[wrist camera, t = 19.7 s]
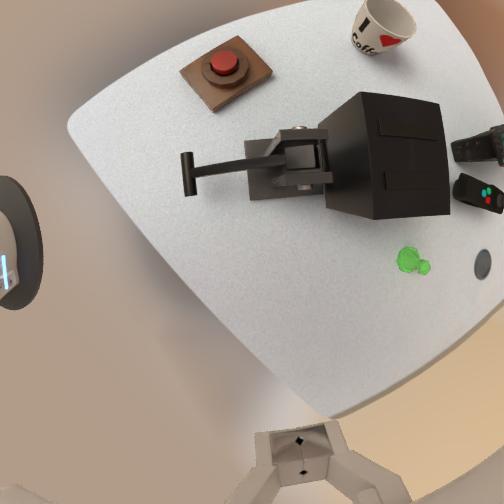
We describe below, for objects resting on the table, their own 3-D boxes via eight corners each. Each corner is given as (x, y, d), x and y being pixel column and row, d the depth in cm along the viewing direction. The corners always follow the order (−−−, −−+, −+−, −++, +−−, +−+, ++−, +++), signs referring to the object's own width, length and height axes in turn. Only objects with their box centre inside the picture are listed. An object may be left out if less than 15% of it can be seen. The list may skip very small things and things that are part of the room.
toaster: (325, 208, 38) (375, 220, 23) (317, 124, 35) (360, 90, 20) (386, 204, 38) (452, 215, 23) (379, 126, 35) (440, 103, 20)
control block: (213, 113, 34) (210, 106, 31) (181, 76, 33) (176, 66, 29) (271, 76, 33) (274, 66, 30) (238, 40, 32) (238, 29, 28)
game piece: (407, 276, 41) (427, 288, 35) (392, 262, 40) (412, 273, 34) (421, 255, 40) (442, 265, 34) (406, 241, 39) (428, 248, 33)
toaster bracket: (249, 200, 37) (254, 205, 24) (244, 142, 35) (245, 116, 22) (321, 194, 37) (362, 197, 24) (315, 138, 35) (353, 113, 22)
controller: (475, 211, 38) (512, 218, 29) (432, 195, 38) (472, 199, 28) (477, 189, 38) (514, 193, 28) (435, 170, 37) (475, 170, 27)
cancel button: (221, 79, 30) (221, 74, 29) (207, 64, 30) (206, 59, 28) (242, 67, 30) (242, 61, 28) (227, 52, 29) (227, 46, 28)
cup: (334, 42, 32) (356, 10, 22) (353, 17, 30) (375, -13, 21) (377, 71, 33) (408, 47, 23) (392, 44, 32) (421, 20, 22)
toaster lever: (192, 195, 32) (179, 197, 30) (187, 154, 31) (175, 153, 29) (321, 183, 26) (317, 183, 23) (316, 133, 24) (311, 128, 22)
